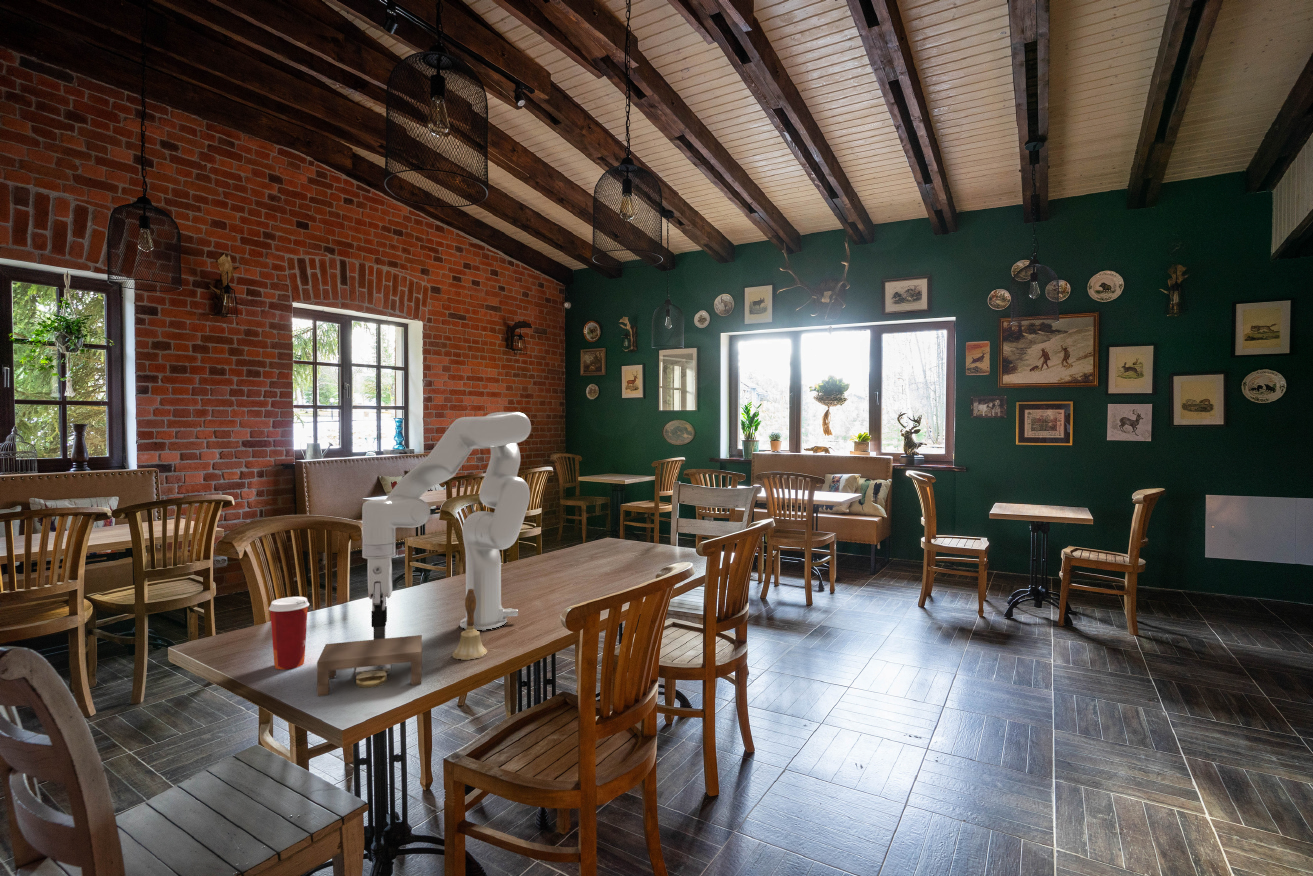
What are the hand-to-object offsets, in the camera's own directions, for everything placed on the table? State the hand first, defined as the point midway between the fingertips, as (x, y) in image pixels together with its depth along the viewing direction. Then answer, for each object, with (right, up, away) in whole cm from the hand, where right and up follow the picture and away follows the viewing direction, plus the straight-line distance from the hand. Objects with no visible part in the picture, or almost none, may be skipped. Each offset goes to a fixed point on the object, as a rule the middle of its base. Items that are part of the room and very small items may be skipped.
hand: (379, 624), depth 161 cm
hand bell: (+23, -7, -2) cm, 24 cm away
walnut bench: (+6, -7, -18) cm, 21 cm away
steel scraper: (+3, -6, -8) cm, 10 cm away
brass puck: (+7, -7, -20) cm, 22 cm away
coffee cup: (-17, -7, -10) cm, 21 cm away
